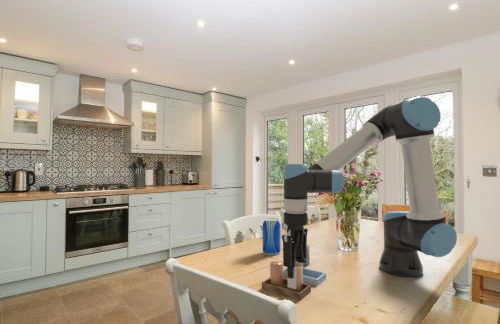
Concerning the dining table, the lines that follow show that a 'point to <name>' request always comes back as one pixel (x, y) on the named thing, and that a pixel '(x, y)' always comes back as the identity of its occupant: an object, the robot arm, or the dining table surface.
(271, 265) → the cylinder
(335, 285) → the dining table surface
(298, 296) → the trough
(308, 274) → the trough
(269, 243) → the beer can
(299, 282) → the cylinder
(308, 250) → the cylinder
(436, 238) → the robot arm
